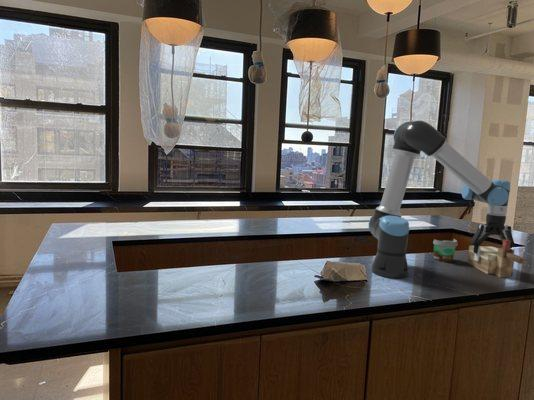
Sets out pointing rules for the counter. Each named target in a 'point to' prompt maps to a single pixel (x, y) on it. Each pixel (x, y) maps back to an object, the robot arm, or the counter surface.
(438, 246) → the food container
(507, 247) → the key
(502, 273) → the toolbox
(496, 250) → the cream flat piece
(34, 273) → the counter surface
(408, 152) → the robot arm
